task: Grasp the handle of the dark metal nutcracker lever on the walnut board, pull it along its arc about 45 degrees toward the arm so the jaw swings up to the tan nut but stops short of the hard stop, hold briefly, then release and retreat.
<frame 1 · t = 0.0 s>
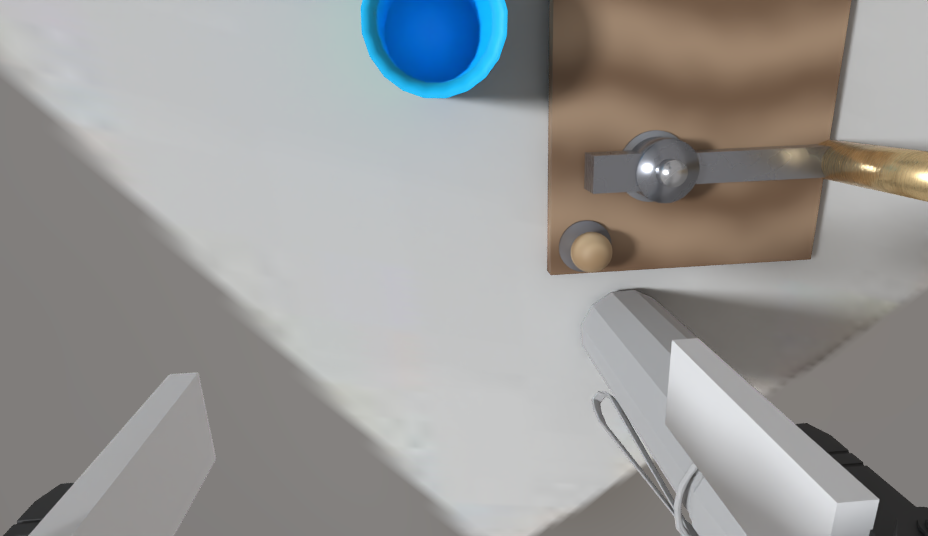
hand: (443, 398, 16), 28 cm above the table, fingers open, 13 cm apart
water bottle: (611, 333, 47), on the table
nutcracker base: (690, 86, 41), on the table
mug: (411, 13, 39), on the table
lever: (759, 175, 36), point 7 cm above the table, hinge at 0.0°
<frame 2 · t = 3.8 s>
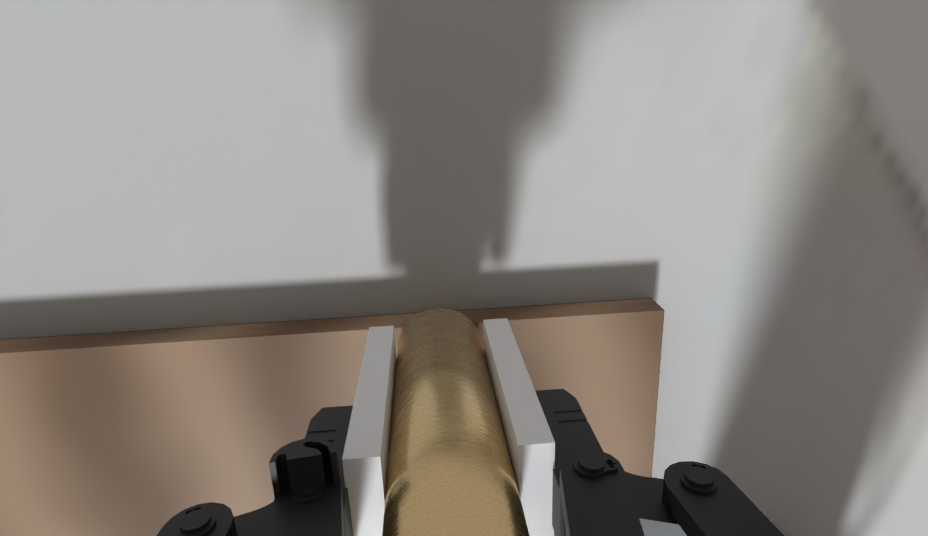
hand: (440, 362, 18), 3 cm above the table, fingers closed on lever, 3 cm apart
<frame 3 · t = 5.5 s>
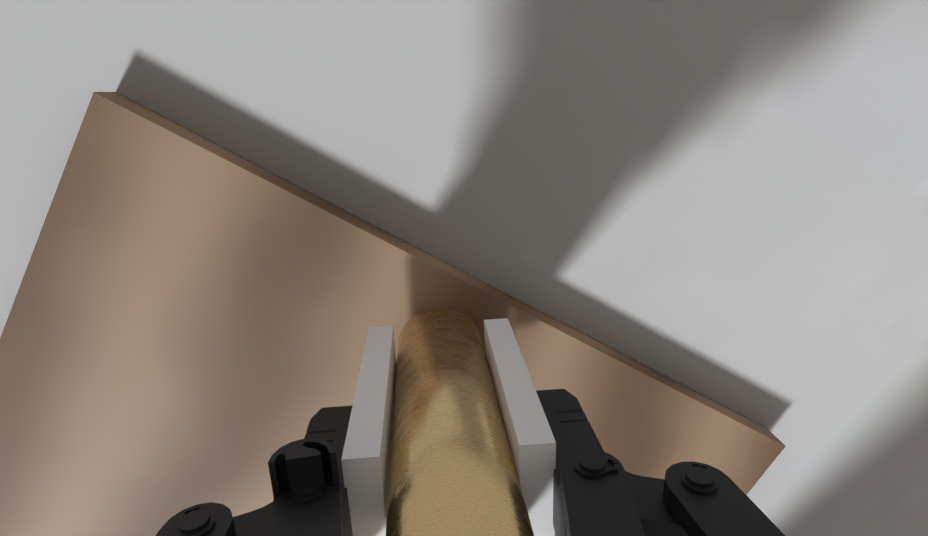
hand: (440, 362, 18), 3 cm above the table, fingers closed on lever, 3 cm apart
nutcracker base: (357, 502, 23), on the table
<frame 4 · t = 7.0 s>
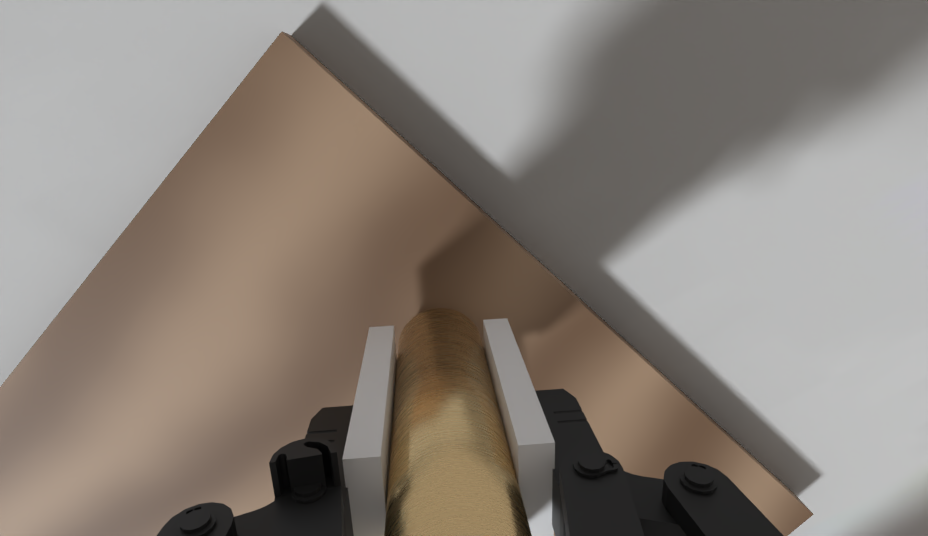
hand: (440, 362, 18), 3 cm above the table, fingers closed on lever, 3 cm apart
nutcracker base: (399, 487, 23), on the table
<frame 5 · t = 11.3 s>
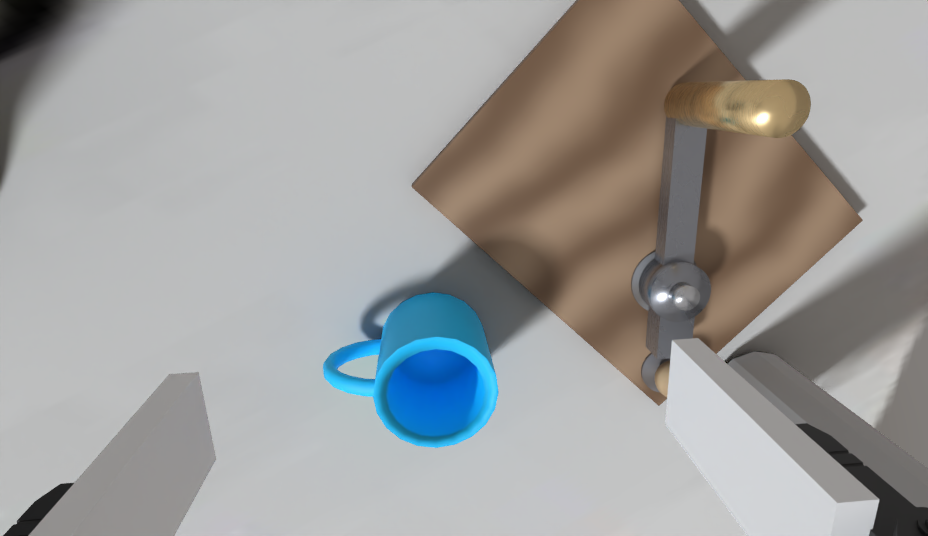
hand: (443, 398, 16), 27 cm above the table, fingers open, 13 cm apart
water bottle: (744, 393, 48), on the table
nutcracker base: (640, 201, 42), on the table
mug: (408, 340, 44), on the table
lever: (709, 243, 36), point 7 cm above the table, hinge at 44.5°
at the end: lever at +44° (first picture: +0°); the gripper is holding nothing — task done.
